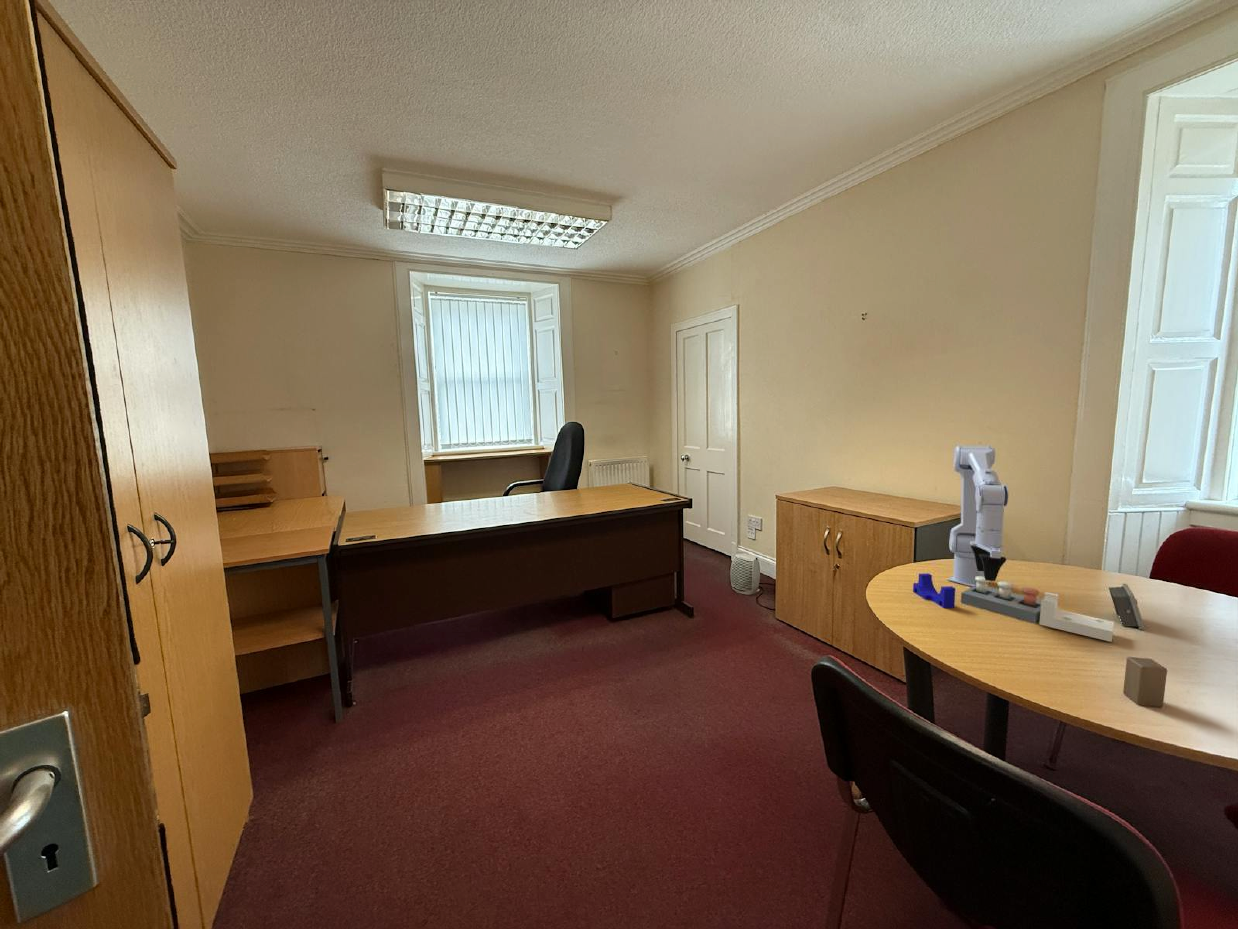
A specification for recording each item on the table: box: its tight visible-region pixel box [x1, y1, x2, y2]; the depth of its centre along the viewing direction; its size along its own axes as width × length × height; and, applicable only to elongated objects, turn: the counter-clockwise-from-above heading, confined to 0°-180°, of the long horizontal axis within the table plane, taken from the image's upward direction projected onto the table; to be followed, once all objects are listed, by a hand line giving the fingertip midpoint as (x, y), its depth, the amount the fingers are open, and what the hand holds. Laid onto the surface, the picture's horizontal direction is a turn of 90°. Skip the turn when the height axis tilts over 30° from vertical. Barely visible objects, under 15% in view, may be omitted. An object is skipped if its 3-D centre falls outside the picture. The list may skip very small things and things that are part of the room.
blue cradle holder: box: [912, 572, 956, 609], centre depth 141 cm, size 12×4×6 cm, turn 179°
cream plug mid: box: [997, 581, 1014, 599], centre depth 134 cm, size 3×3×4 cm
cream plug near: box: [975, 576, 991, 593], centre depth 138 cm, size 3×3×4 cm
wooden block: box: [1122, 656, 1168, 708], centre depth 92 cm, size 4×4×8 cm
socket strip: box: [960, 585, 1042, 625], centre depth 134 cm, size 11×17×3 cm, turn 33°
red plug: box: [1021, 587, 1040, 605], centre depth 129 cm, size 3×3×4 cm
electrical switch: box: [1108, 583, 1145, 630], centre depth 124 cm, size 9×5×9 cm, turn 141°
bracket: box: [1038, 591, 1115, 643], centre depth 120 cm, size 13×7×8 cm, turn 42°
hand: (985, 575), depth 132 cm, fingers open, 7 cm apart
